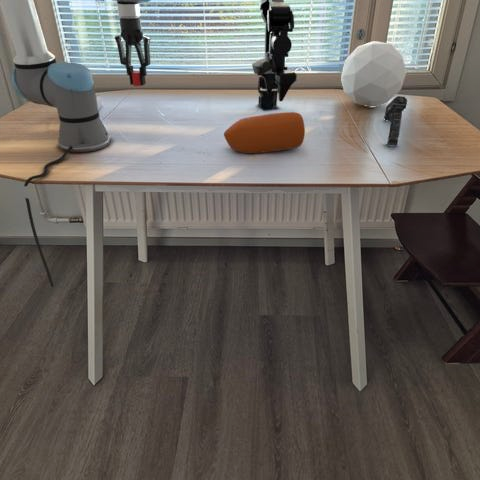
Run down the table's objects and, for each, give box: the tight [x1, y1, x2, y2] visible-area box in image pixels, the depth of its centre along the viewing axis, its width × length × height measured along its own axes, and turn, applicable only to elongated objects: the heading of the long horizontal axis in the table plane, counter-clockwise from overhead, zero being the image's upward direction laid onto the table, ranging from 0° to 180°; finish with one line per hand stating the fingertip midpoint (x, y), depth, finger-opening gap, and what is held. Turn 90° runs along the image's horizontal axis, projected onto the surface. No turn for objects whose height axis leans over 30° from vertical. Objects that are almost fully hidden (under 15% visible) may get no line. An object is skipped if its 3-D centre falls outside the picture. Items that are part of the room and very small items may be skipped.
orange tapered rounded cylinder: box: [223, 111, 306, 154], centre depth 125 cm, size 12×11×25 cm
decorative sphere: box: [340, 40, 408, 109], centre depth 161 cm, size 24×25×25 cm
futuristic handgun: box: [383, 95, 408, 147], centre depth 138 cm, size 4×29×15 cm, turn 164°
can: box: [132, 70, 143, 87], centre depth 159 cm, size 4×4×5 cm
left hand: (138, 84), depth 161 cm, fingers closed on can, 4 cm apart
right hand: (274, 97), depth 143 cm, fingers open, 9 cm apart
